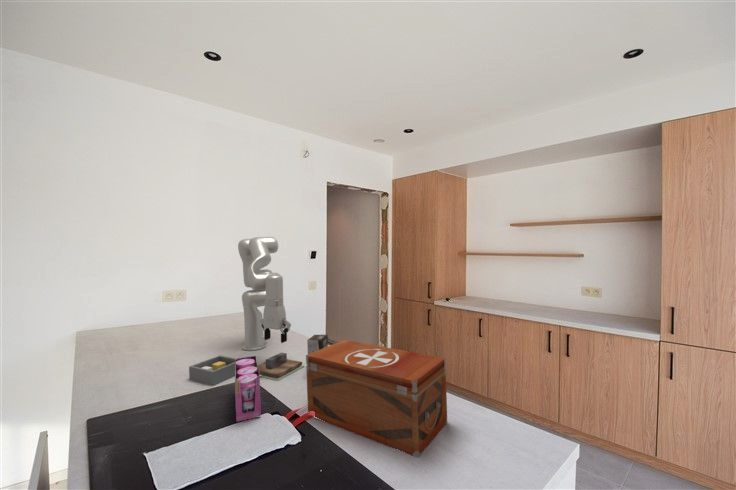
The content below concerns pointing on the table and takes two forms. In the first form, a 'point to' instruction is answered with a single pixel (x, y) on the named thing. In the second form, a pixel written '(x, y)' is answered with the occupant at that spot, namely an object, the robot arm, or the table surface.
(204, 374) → the storage box
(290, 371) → the sage mat
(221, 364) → the ochre block
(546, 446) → the table surface
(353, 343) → the wooden box
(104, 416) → the table surface
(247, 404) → the gum box
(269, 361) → the lid
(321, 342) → the coffee box
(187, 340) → the table surface
